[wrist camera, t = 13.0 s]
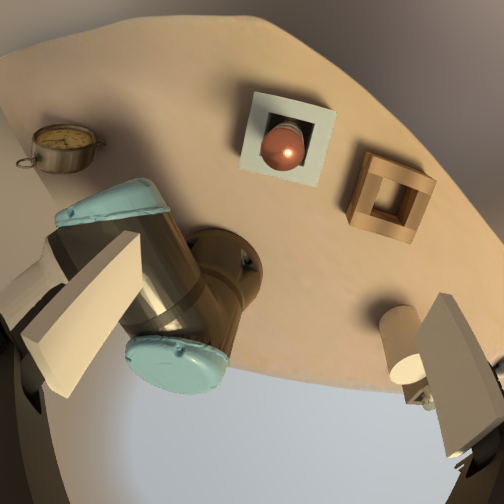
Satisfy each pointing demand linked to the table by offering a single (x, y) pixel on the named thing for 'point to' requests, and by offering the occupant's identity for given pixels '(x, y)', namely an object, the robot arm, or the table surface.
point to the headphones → (427, 399)
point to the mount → (411, 205)
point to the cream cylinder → (401, 344)
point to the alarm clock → (62, 149)
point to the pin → (283, 146)
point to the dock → (287, 107)
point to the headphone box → (414, 391)
